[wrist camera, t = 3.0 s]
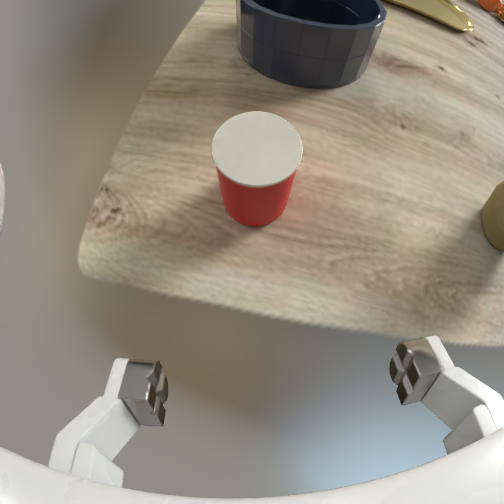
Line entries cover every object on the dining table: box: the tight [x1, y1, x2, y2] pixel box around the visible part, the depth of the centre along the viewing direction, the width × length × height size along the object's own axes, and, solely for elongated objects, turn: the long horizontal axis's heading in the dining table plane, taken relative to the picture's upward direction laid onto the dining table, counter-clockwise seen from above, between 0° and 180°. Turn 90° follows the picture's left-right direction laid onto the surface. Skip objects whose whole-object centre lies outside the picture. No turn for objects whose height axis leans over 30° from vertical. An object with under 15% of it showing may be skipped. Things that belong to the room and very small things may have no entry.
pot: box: [236, 0, 387, 88], centre depth 27 cm, size 17×17×9 cm
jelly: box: [211, 111, 303, 226], centre depth 22 cm, size 6×6×8 cm
